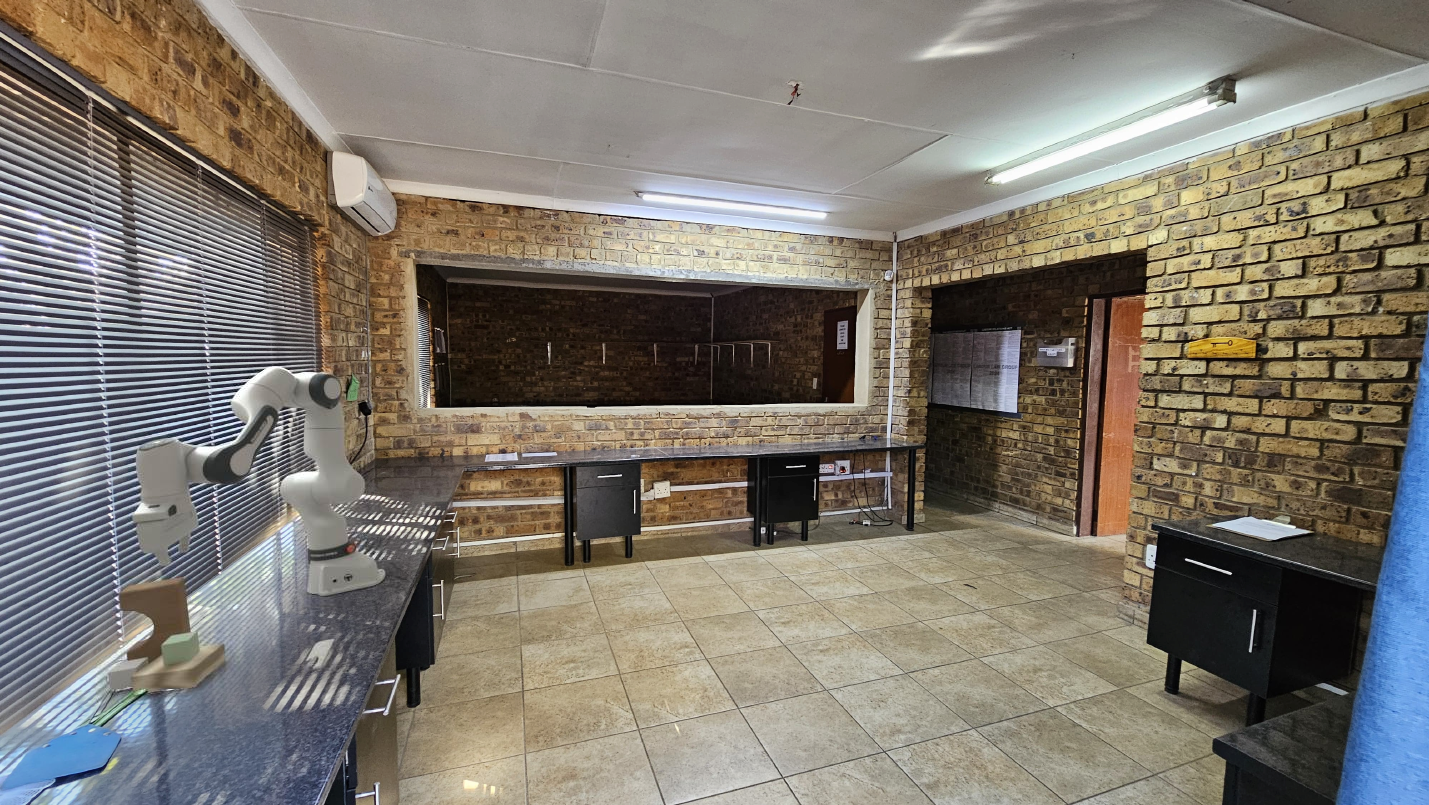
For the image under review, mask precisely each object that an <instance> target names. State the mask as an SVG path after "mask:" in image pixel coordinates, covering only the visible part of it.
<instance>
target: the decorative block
mask: <svg viewBox="0 0 1429 805" xmlns="http://www.w3.org/2000/svg"><path fill="white" fill-rule="evenodd" d="M187 599H188V598H187V591H186V583H185V577H182V576H181V577H175V578H169V579H162V580H156V581H149V582H142V583H136V584H130V585H128V586H127V587H125V588H124V589H123V590H121V591H120V592H119V593H118V600H119V607H120V611H121V612H136V613H139V614H143V615H145V616H146V617H147V618H149V619H150V620H151V622H152V624H153V630H152V634H151V636H149V637H148V638H145V639H143V640H141V641H136V643H135V644H133V645H132V646H131V647H130V649H128V650H127V652H126V661H130V660H135V659H141V658H147V657H148V662H149V664H150V663H151V662H153V661H154V660H155V659H157V658H158V657H160V656H161V655H162V648H161V645H162V644H163V643H164V642H165V641H166V640H167V639H168V638H169V637H171V636H173V635H179V634H184V633H190V632H192V631H191V624H190V614H189V607H188V600H187Z"/></svg>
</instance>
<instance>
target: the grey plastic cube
mask: <svg viewBox="0 0 1429 805" xmlns="http://www.w3.org/2000/svg"><path fill="white" fill-rule="evenodd" d="M148 664H149V662H148V657H147V658H141V659H135V660H130V661H127V660H125V661H120V662H119V663H118V664H117V665H116V666H115V667H113V668H112V669H111V670H110V671H108V673H107V674H108V682H109V688H110V692H111V691H112V690H117V689H123V688H127V687H132V680H131V676H133V675H134V674H136V673H137V672H138V671H140V670H141V669H143V668H144V667H145V666H147V665H148Z"/></svg>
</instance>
